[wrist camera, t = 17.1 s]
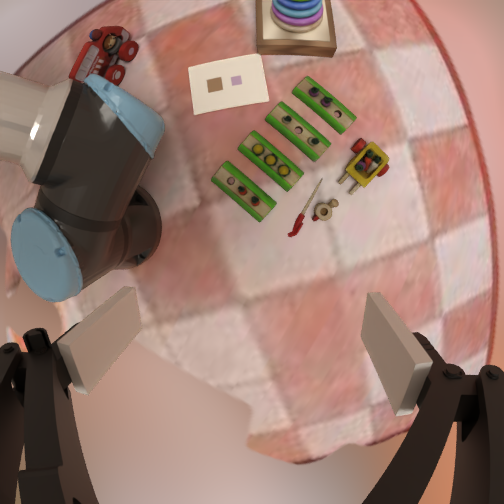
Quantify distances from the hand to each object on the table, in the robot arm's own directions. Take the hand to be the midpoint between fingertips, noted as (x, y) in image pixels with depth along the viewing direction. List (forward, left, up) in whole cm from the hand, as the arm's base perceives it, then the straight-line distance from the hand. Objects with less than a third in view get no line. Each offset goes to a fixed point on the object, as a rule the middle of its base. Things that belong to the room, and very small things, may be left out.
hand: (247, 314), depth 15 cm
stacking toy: (+5, +34, -27) cm, 43 cm away
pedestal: (+5, +34, -31) cm, 46 cm away
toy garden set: (+6, +9, -31) cm, 33 cm away
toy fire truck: (-27, +31, -31) cm, 51 cm away
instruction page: (-6, +23, -31) cm, 39 cm away
